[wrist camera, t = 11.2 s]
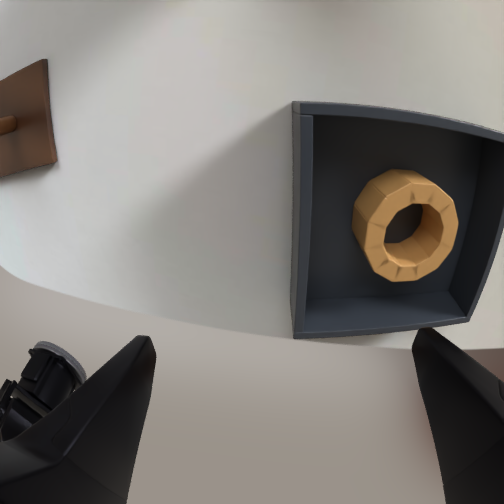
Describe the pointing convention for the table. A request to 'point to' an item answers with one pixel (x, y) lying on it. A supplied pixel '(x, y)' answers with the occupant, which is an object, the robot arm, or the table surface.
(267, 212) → the table surface
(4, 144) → the wooden peg board
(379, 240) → the tape
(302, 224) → the tray
